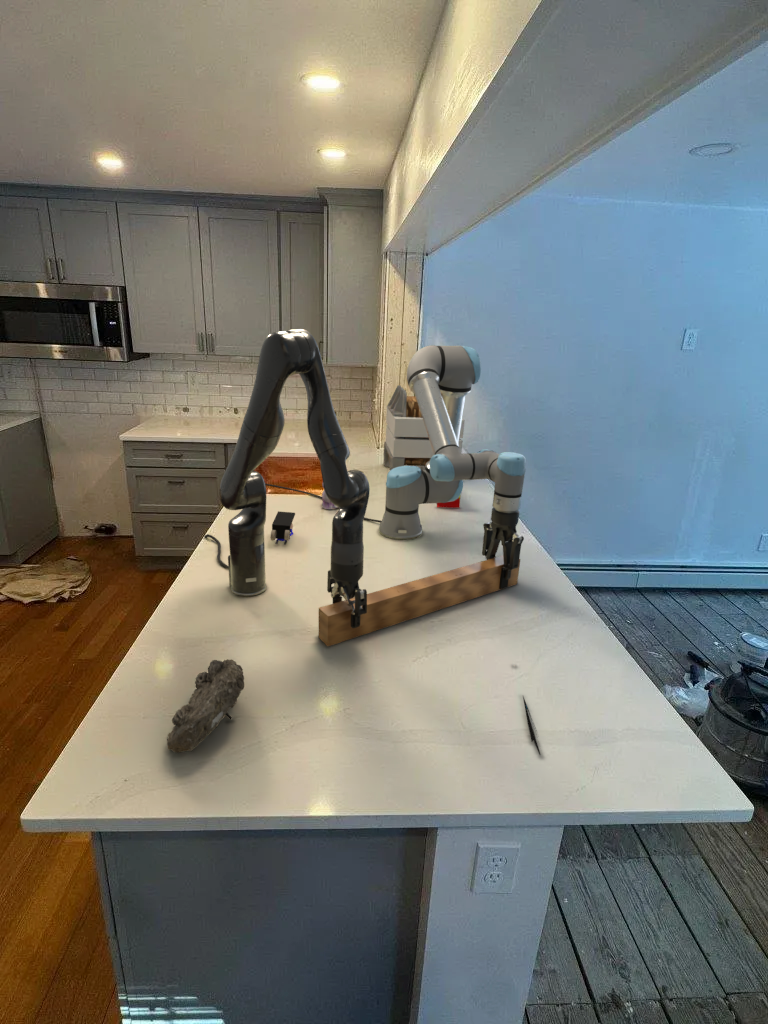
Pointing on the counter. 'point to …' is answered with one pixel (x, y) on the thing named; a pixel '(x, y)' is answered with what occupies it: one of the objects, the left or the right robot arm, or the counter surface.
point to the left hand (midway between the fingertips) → (346, 618)
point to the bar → (413, 600)
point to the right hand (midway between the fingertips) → (496, 584)
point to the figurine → (327, 501)
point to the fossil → (206, 705)
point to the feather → (530, 725)
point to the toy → (450, 504)
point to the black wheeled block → (282, 527)
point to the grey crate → (407, 433)
